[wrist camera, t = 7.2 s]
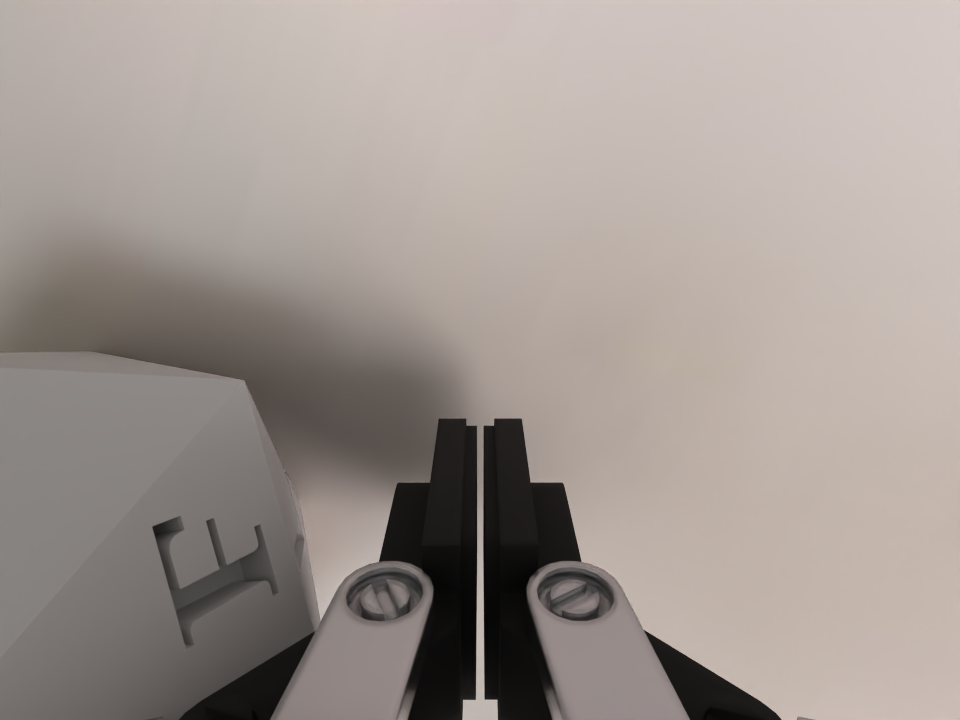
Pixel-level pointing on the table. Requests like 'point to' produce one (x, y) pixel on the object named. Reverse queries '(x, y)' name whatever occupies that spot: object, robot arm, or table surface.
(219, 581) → the die
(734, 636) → the table surface
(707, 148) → the table surface
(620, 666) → the robot arm
